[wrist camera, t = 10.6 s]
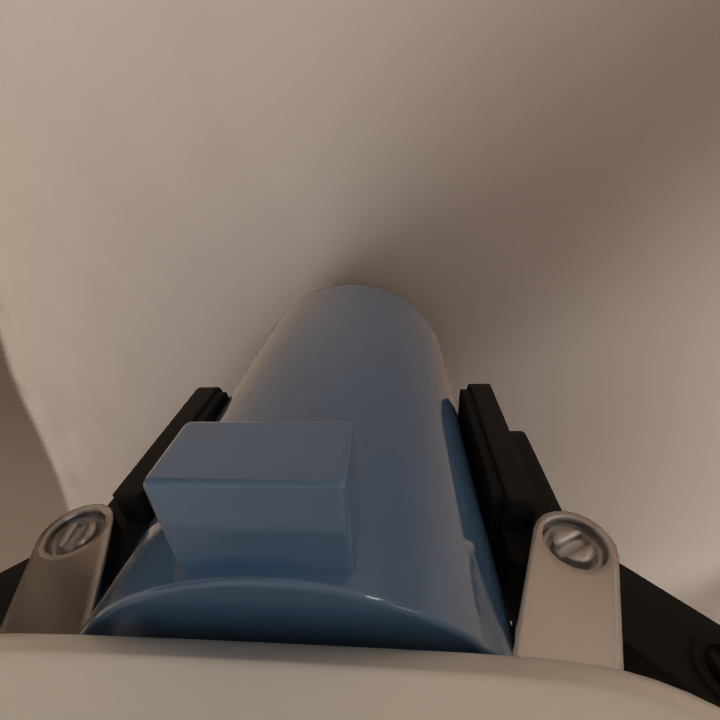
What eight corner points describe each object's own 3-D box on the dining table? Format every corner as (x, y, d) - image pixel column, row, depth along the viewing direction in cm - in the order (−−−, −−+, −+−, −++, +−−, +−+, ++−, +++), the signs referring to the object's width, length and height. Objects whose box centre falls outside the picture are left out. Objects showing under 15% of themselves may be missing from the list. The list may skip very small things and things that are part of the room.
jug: (246, 251, 12) (-94, 497, 4) (448, 242, 12) (613, 507, 3) (292, 481, 17) (193, 821, 9) (436, 482, 17) (487, 848, 8)
